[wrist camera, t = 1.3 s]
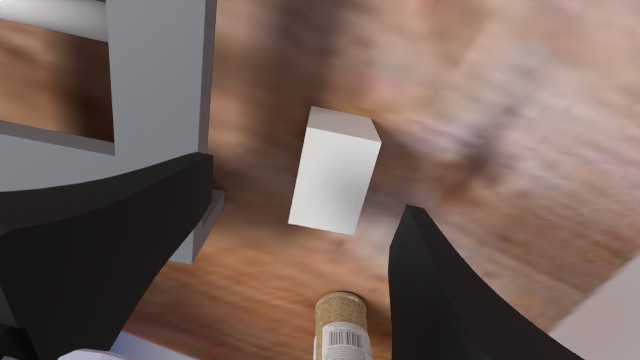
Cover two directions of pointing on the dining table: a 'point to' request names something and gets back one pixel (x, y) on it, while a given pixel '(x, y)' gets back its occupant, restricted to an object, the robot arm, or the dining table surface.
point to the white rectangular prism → (334, 170)
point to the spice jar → (341, 328)
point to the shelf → (125, 96)
